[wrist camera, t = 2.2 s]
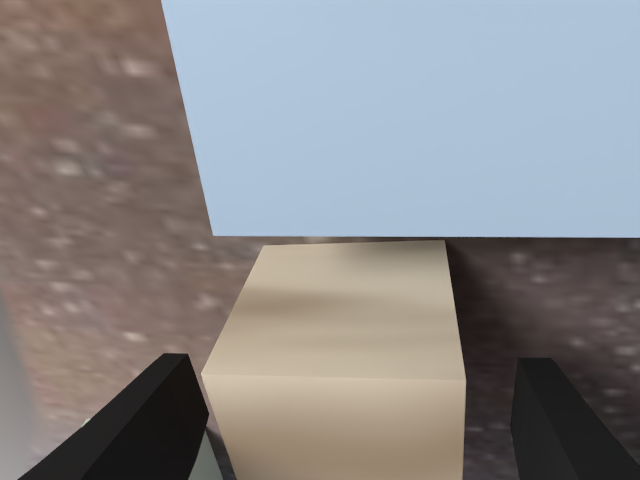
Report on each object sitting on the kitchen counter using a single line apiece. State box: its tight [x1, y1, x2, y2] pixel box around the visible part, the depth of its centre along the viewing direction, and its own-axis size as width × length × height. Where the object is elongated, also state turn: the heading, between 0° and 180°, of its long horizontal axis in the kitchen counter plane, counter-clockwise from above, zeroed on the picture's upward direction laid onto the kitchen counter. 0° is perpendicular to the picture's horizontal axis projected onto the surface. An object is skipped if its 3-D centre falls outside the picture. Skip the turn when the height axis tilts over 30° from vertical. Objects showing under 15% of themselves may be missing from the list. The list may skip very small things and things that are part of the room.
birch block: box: [201, 240, 466, 480], centre depth 11 cm, size 4×4×4 cm
